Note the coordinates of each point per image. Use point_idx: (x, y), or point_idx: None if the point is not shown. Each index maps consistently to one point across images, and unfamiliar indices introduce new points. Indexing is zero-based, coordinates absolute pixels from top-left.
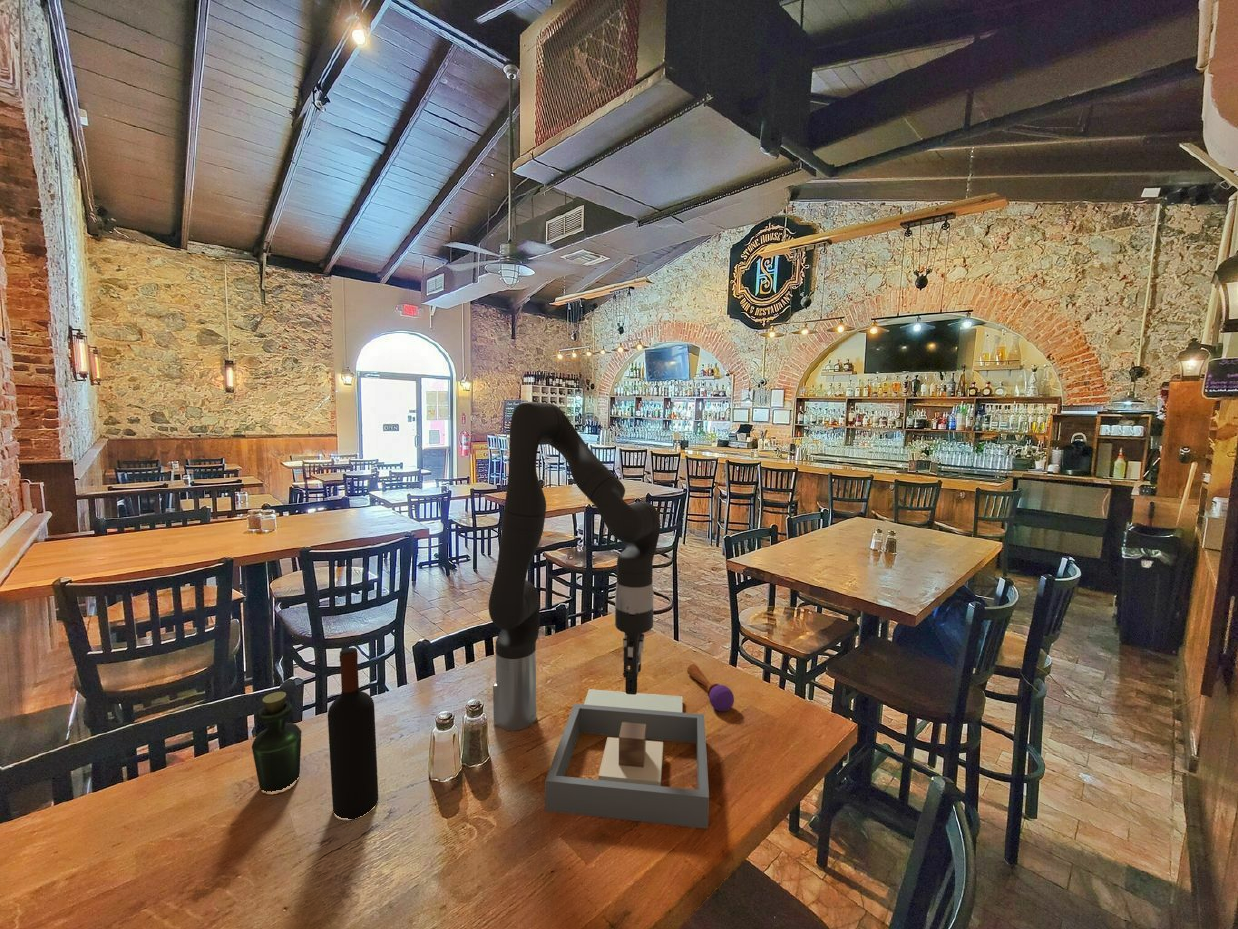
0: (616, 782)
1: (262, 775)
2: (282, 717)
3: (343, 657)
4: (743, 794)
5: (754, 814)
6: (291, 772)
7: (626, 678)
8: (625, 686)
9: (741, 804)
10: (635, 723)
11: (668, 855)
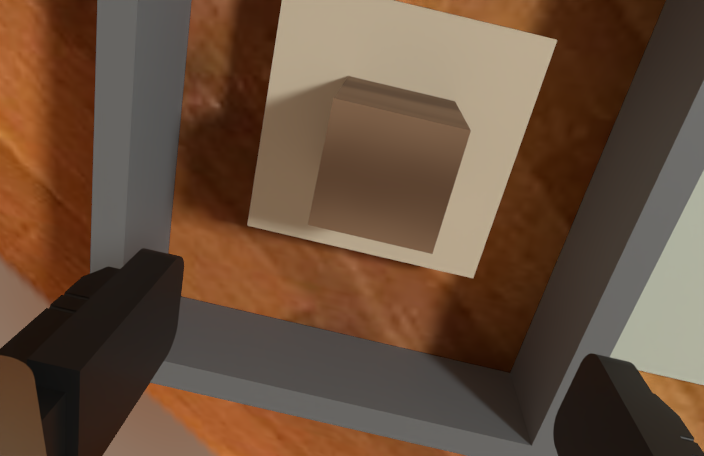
0: (130, 53)
1: None
2: None
3: None
4: (266, 426)
5: (195, 426)
6: None
7: (56, 345)
8: (113, 277)
9: (229, 410)
10: (446, 203)
11: (35, 185)
